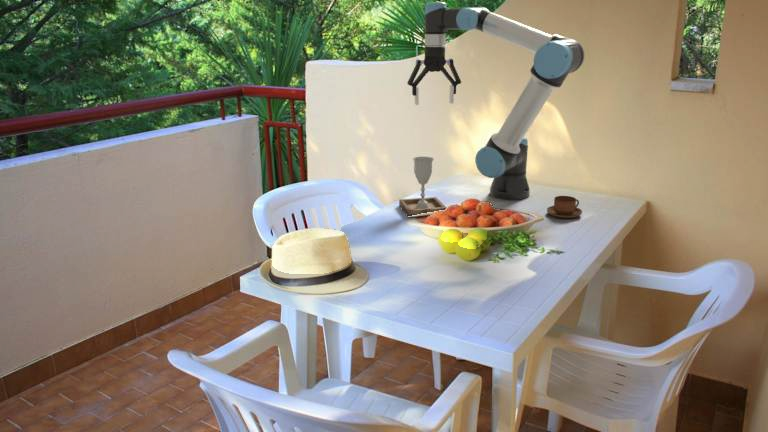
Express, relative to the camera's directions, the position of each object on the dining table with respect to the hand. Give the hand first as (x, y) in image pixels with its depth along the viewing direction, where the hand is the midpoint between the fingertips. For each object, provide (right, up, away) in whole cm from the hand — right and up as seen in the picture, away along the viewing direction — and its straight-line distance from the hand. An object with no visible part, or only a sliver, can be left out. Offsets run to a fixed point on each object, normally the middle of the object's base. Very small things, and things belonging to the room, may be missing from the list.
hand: (434, 103), depth 261 cm
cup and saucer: (+44, -42, -18) cm, 64 cm away
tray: (-5, -40, -12) cm, 42 cm away
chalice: (-5, -40, -12) cm, 42 cm away
